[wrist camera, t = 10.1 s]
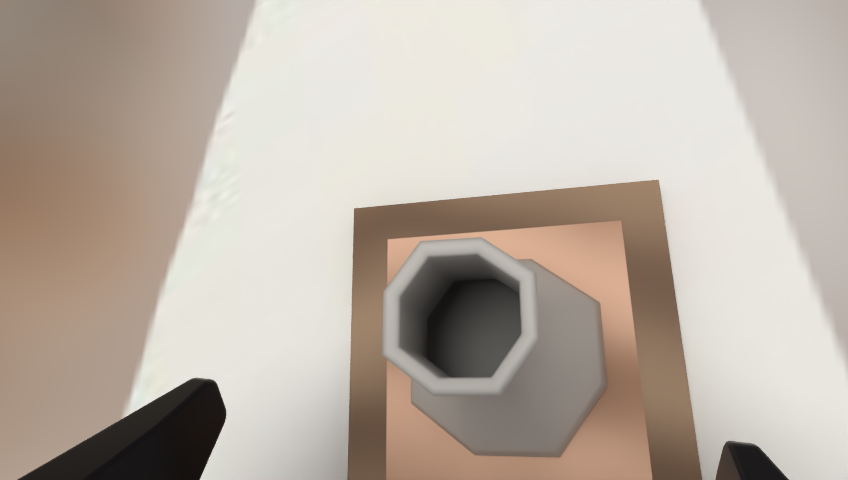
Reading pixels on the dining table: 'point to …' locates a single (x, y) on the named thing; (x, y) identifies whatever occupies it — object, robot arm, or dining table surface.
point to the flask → (494, 347)
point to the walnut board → (575, 263)
